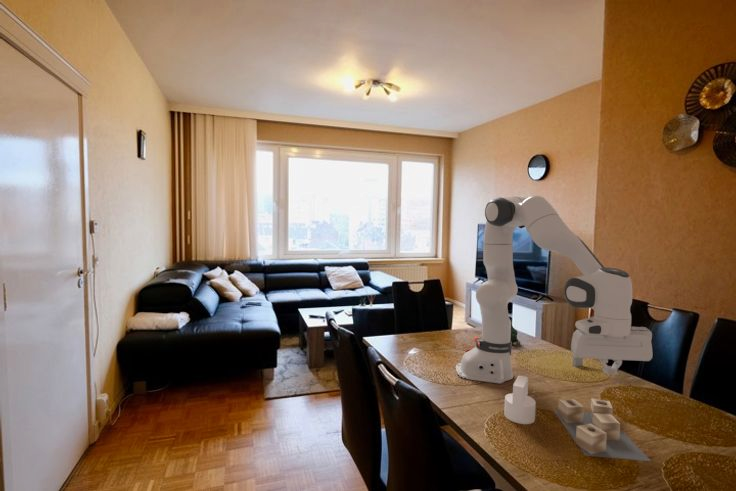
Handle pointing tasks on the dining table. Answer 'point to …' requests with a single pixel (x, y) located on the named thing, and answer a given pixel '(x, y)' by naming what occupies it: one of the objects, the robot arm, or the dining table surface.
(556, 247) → the robot arm
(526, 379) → the cylinder with rectangular tab
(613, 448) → the mat
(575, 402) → the marked block
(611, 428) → the plain block
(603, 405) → the marked block
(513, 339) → the frog figurine
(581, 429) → the marked block
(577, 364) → the lighter
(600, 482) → the dining table surface
